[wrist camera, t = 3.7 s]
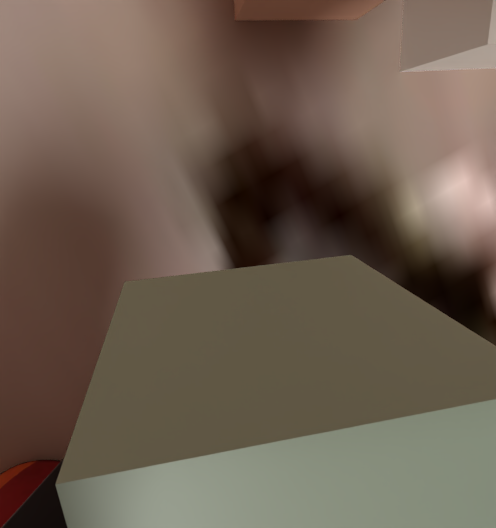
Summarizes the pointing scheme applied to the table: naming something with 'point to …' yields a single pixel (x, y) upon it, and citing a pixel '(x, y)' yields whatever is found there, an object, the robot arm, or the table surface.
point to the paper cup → (21, 485)
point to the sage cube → (284, 407)
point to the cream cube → (448, 35)
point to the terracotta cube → (302, 9)
